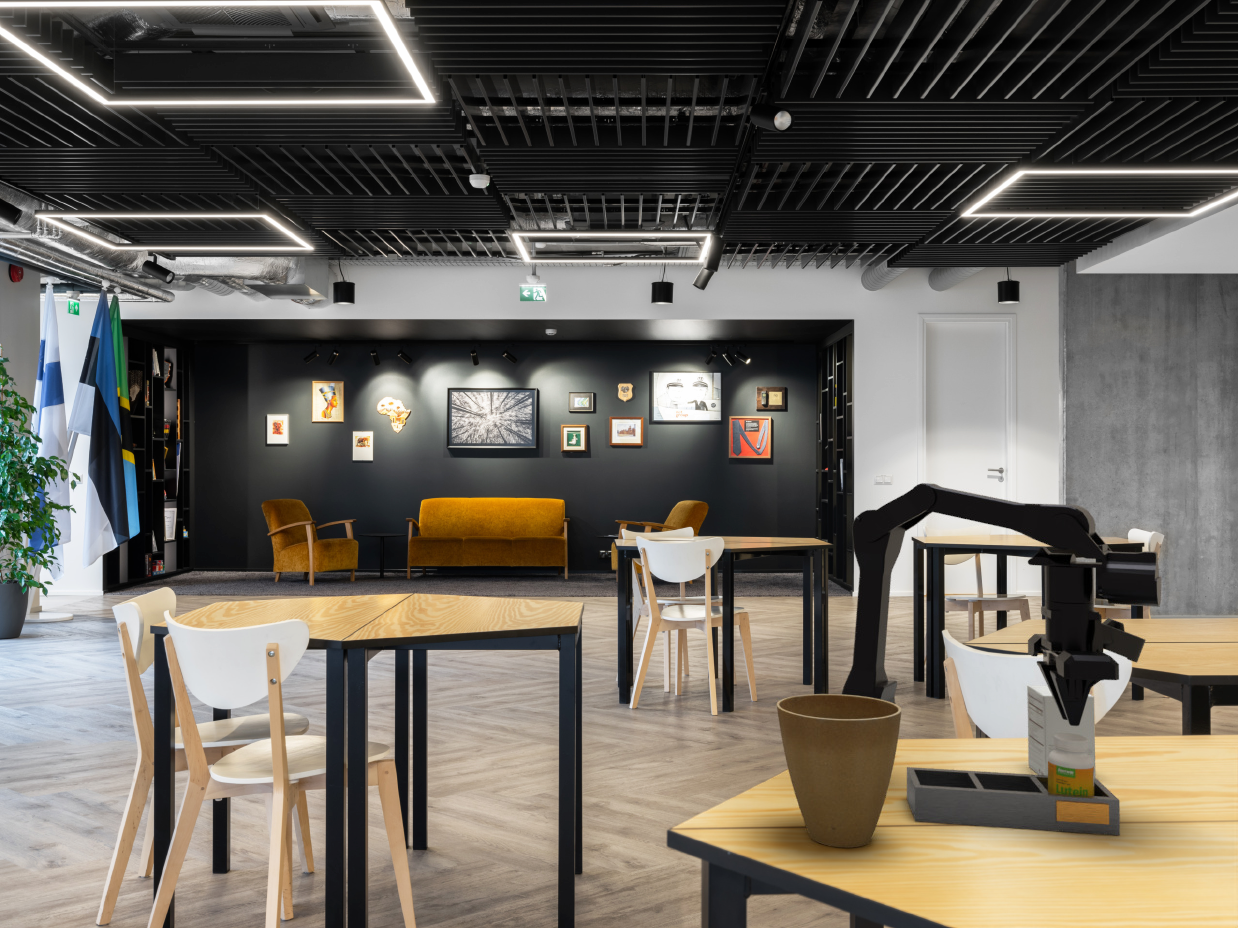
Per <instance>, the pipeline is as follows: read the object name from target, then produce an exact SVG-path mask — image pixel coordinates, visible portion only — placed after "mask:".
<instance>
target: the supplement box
mask: <svg viewBox="0 0 1238 928" xmlns="http://www.w3.org/2000/svg"><path fill="white" fill-rule="evenodd" d="M1026 687H1027V688H1026V689H1027V690H1026V693H1027V696H1026V697H1027V728H1028V729H1027V737H1028V738H1027V744H1028V746H1027V747H1028V749H1027V750H1028V752H1027V753H1028V754H1027V755H1028V758H1027V759H1028V760H1027V761H1028V767H1029V768H1030V769H1031V770H1032V771H1034V773H1036V775H1048V755H1049V753H1050V752H1051V751H1053V750H1056V747H1054V735H1055V734H1058V733H1069V734H1076V735H1080V736H1084V737H1086V738H1087V739H1088V750H1087V751H1086V754H1088V755H1090V756H1091V757H1092V758H1093V760H1094V778H1096V775H1097V774H1096V738H1095V736H1096V733H1095V732H1096V731H1095V728H1096V727H1095V725H1096V724H1095V697H1094V696H1093V695H1092V694H1090V693H1089V695H1088V698H1087V701H1086V705H1085V708H1084V711H1083V715H1082V718H1081V721H1080V725H1079V726H1071V725H1070V724H1069V722H1068V720H1064V719H1063V718H1062V717H1061V714H1060V712H1059V710H1058V708H1057V705H1056V703H1055V701H1054V699H1053V696H1052V694H1051V692H1050V690H1049V687H1048V685H1026ZM1096 779H1097V778H1096Z"/></svg>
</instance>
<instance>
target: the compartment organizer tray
mask: <svg viewBox="0 0 1238 928" xmlns="http://www.w3.org/2000/svg"><path fill="white" fill-rule="evenodd" d="M906 800H907V803H908V805H909V808H910V811H911V814H912V817H913V819H914V822H923V823H935V824H950V825H962V826H963V825H964V826H981V827H994V828H1007V829H1008V828H1009V829H1020V830H1021V829H1023V830H1037V831H1047V832H1048V831H1050V832H1051V831H1052V832H1065V833H1078V834H1079V833H1080V834H1093V835H1094V834H1095V835H1108V836H1120V835H1121V823H1120V822H1121V821H1120V819H1121V816H1120V812H1121V811H1120V809H1121V808H1120V799H1119V797H1117V796H1115V794H1113V793H1112V792H1111V790H1109V789H1108V788H1107V787H1106V786H1105V785H1104V784H1103V783H1102V782H1101V781H1100V780H1099V779H1098V778H1094V796H1083V795H1067V794H1051V793H1049V792H1048V775H1038V774H1030V773H1015V772H1013V773H1012V772H1009V773H1008V772H996V771H995V772H994V771H979V770H978V771H976V770H962V769H960V770H959V769H944V768H932V767H931V768H929V767H927V768H925V767H912V766H907V767H906Z"/></svg>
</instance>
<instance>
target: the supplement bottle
mask: <svg viewBox="0 0 1238 928" xmlns="http://www.w3.org/2000/svg"><path fill="white" fill-rule="evenodd" d="M1054 747H1056V750H1053V751H1051V752H1050V753H1049V755H1048V792H1049V793H1051V794H1067V795H1083V796H1094V760H1093V758H1092V757H1091V756H1090V755H1088V754H1086V751H1087V750H1088V739H1087V738H1086V737H1084V736H1080V735H1076V734H1069V733H1058V734H1055V735H1054Z"/></svg>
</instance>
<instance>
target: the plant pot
mask: <svg viewBox="0 0 1238 928" xmlns="http://www.w3.org/2000/svg"><path fill="white" fill-rule="evenodd" d="M776 710H777V717H778V718H777V719H778V723H779V728H780V729H779V730H780V735H781V741H782V742H781V743H782V748H783V750H784V756H785V760H786V765H787V766H786V767H787V769H788V773H789V774H788V775H789V777H790V782H791V785H792V788H793V792H794V796H795V799H796V801H797V804H798V807H799V811H800V813H801V817H802V819H803V821H804V825H805V827H806V830H807V832H808V835H809V837H810V838H811V839H812V840H814V841H815V842H817V843H819V844H822V845H826V846H829V847H834V848H848V849H849V848H859V847H862V846H863V847H864V846H866V845H868V844H869V843H870V842H871V840H872V838H873V836H874V833H875V831H876V827H877V826H878V823H879V819H880V816H881V813H882V810H883V807H884V804H885V802H886V801H885V800H886V798H887V793H888V789H889V786H890V782H891V778H892V773H893V769H894V765H895V764H894V763H895V759H896V755H897V754H896V753H897V748H898V741H899V735H900V726H901V719H902V708H901V706H899V705H898V704H896V703H895V704H894V703H891V702H888V701H884V700H880V699H875V698H870V697H863V696H854V695H841V694H836V693H833V694H831V693H816V694H815V693H813V694H811V693H810V694H801V695H800V694H799V695H793V696H788V697H786V698H783V699H780V700H778V701H777V702H776Z"/></svg>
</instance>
